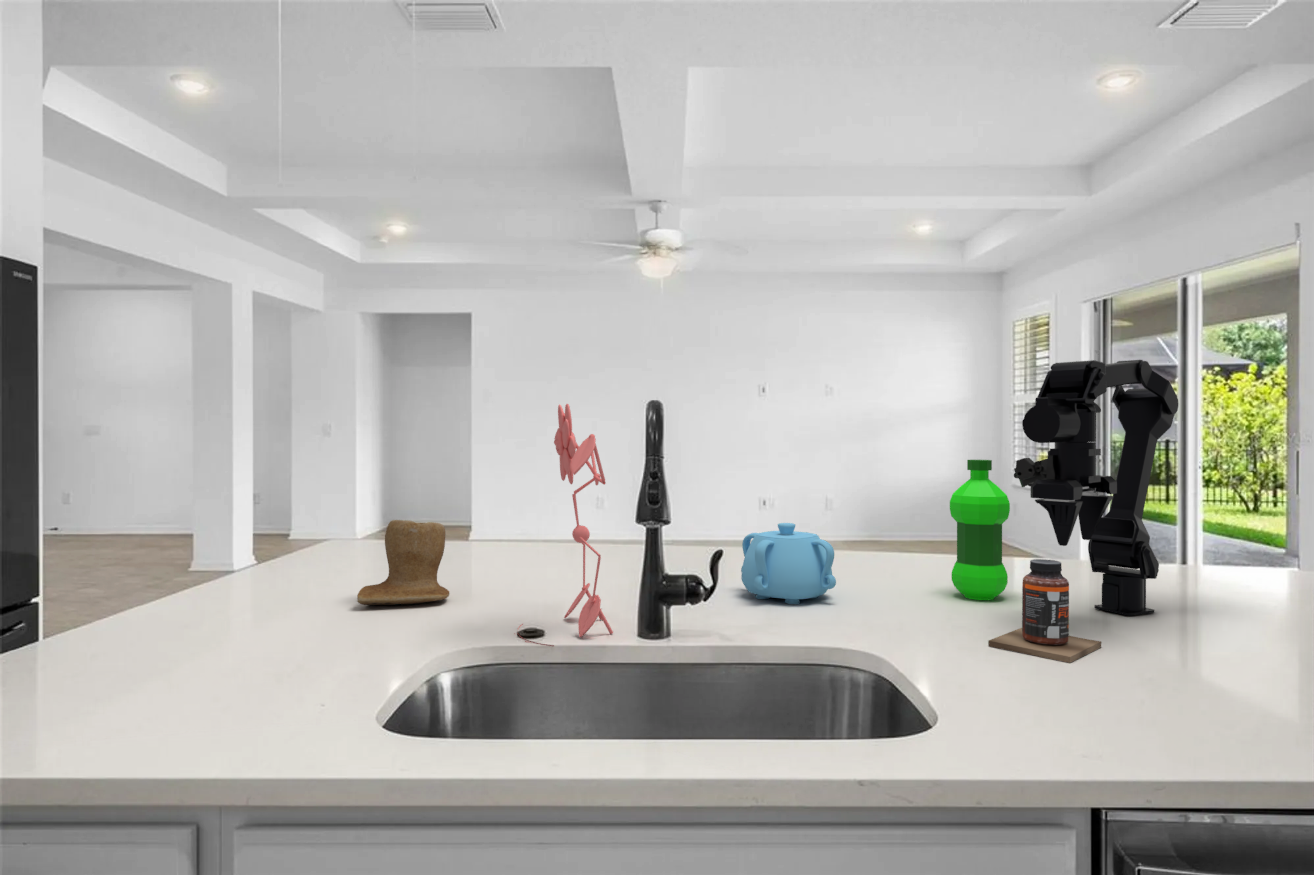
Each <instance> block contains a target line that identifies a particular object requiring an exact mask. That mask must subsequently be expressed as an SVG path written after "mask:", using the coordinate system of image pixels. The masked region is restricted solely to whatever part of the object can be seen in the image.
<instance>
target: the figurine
mask: <svg viewBox="0 0 1314 875" xmlns="http://www.w3.org/2000/svg"><path fill="white" fill-rule="evenodd" d="M570 407H571V406H570V405H569V403H566V404H565V406H564V408H563V406H562V405H561V404H559V403H558V407H557V420H558V428H557V430H556V432H555V435H554V438H553V439H554V441H553V444H554V446H555V450H556V453H557V455H558V456H559V471H560V472H559V473H560V478H561V480H562V481H563V482H564V481H565V480H566V478H568V483H569V484H570V485H573V483H574V476H575V475H576V474H577V473H578V472H579V471H580V470H581V469H582V468H583V467H584V466H585V465H586V466H587V467H588V469H589V470H590V472H591V473H592V475H593V477H592V479H590V480H588V481H587V482H585V483H584V484H582V485H581V486H579V487H578V488H577V489H575V490H573V493H572V494H571V496H572V502H573V509H574V515H575V520H576V521H575V522H576V526H575V527H574V529H573V530H572V533H571V534H572V538H573V540H574V541H575V542H576V543H578V544H581V545H582V587H581V591H580V592H579V594H577V596H576V598H575V599H574V600H573V602H572V604H571V605H570V607H569V608H568V610H567V611H566V613H565V615H564V617H563V618H564V619H567V618H568V617H569V616H570V615H571V613H573V611H574V610H575V609H576V607H577V606H578V605H579V604H580V601H581V600H582V599H583V597H584V596H585V595H586V596H587V597H588V600H587V601H586V602H585V604H584V605H583V607H582V608H581V611H580V613H579V617H578V622H577V623H578V625H577V626H578V635H579V638H583V636H584V635H586V633H587V632H588V631H589V630H590V629H591V628H592V627H593V625H594V624H595V622H596V621H597V619H598V617H599V620H600V621H602V622H603V623H604V625H605V627H606V629H607V631H608V632H609V635H612V634H614V631H613V629H612V627H611V626H610V623H609V622H608V620H607V618H606V616H605V614H604V613H603V611H602V608H601V605H602V604H601V601H602V599H601V598H600V596H599V594H596V589H597V584H598V577H599V571H600V565H601V561H602V560H601V559H602V558H601V554H600V553H599V552H598V551H597V550H596V549H594V548H593V546H591V545H590V543H588V542H587V541H588V540H589V539H590V535H591V534H590V533H591V532H590V530H589V528H588V527H586V526H585V525H582V524H581V525H580V522H579V521H580V520H579V514H578V513H579V512H578V504H577V496H576V495H577V494H578V493H579V492H581V491H582V490H583V489H584V488H586V487H588V486H589V485H591V484H592V483H593V482H595V486H598V485H599V483H601V484H602V485H606V484H607V483H606V477H605V474H604V470H603V466H602V462H601V460H600V455H599V451H598V448H597V444H596V441H597V440H596V435H595V434H594V433H590V434H589V435H588V437H586V438H585V439H584V440H583V441H582V442H581V444H578V443H577V441H576V440H577V439H576V435H575V434H574V432H573V423H572V422H573V421H572V420H573V419H572V418H573V417H572V413H571V412H572V411H571V408H570ZM590 458H591V463H592V464H591V463H590V461H589V459H590ZM596 463H597V464H596ZM596 465H597V466H596ZM597 468H598V471H599V472H598V471H597ZM586 546H587V547H588V549H590V550H591V551H592V552H593V553H594V554H595V555H596V556H597V563H596V569H595V570H596V571H595V576H594V577H595V578H594V585H593V591H592V594H591V593H590V591H589V588H590V586H591V583H590V582H587V583H586ZM521 626H524V623H522V624H520V625H519V626H518V628H517V631H518V630H519V628H521ZM513 634H514V635H516V633H515V632H513ZM517 635H518V637H520V639H522V640H525V641H524V643H530V644H532V643H533V644H536V645H542V646H548V647H555V645H553V644H545V643H540V642H535V641H532V640H528V639H527V638H524V637H522V636H521V635H520V634H519V633H517Z"/></svg>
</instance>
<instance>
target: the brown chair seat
mask: <svg viewBox="0 0 1314 875" xmlns="http://www.w3.org/2000/svg"><path fill="white" fill-rule="evenodd" d="M445 546H446V528H445V526H444V524H442V523H439V522H433V521H428V522H417V521H412V520H408V519H407V520H406V519H405V520H403V519H392V520H390V521H389V523H388V525H387V527H386V529H385V534H384V548H385V554H386V558H387V565H388V576H387V578H386V579H385V580H384V581H382V582H380V583H376V584H371V585H365V586H362V588H361V589H360V590H359V591H358V593H357V598H356V599H357V600H356V602H357V603H358V604H359V605H363V606H396V605H395V604H401V605H413V604H414V605H415V604H423V603H430V602H435V601H442V600H445V599H447V598H448V597H449V596H450V594H451V593H450V591H449V590H448V589H447V588H446V587H443V586H442V585H441V584H440V583H439V582H438V571H439V567H440V564H441V561H442V559H443V556H444V552H445Z"/></svg>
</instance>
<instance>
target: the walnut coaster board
mask: <svg viewBox="0 0 1314 875" xmlns="http://www.w3.org/2000/svg"><path fill="white" fill-rule="evenodd" d="M987 642H988V645H987V646H988V647H989V648H995V649H1000V650H1006V651H1010V652H1015V653H1021V654H1025V655H1030V656H1033V657H1039V658H1043V659H1044V658H1045V659H1048V660H1053V661H1054V660H1055V661H1059V662H1064V663H1068V664H1071V663H1073V662H1075V661H1077V660H1080V658H1083V657H1085V656H1086V655H1089V654H1091V653H1093V652H1095V651H1097V650H1099V649H1101V648H1102V641H1100V640H1095V639H1089V638H1085V637H1084V638H1083V637H1078V636H1074V635H1073V636H1072V635H1069V636H1068V642H1067V643H1065V644H1062V645H1045V644H1038V643H1033V642H1030V641H1028V640H1026V639H1025V638H1024V637H1023V635H1022V627H1020V628H1017V629H1015V630H1012V631H1009V632H1007V633H1005V634H1002V635H999V636H997V637H994V638H991V639H988V640H987Z"/></svg>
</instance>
